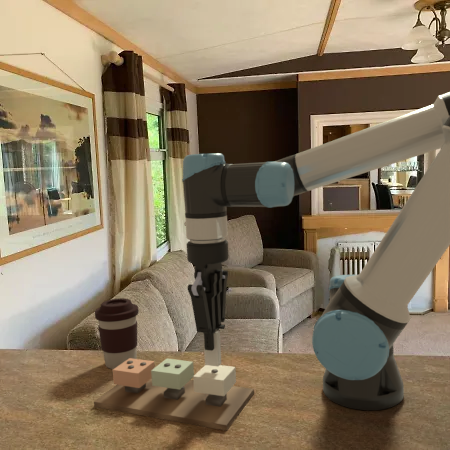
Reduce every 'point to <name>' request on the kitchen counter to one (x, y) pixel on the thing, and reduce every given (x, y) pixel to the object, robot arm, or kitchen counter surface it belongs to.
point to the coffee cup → (117, 330)
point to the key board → (178, 403)
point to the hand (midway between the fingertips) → (213, 364)
